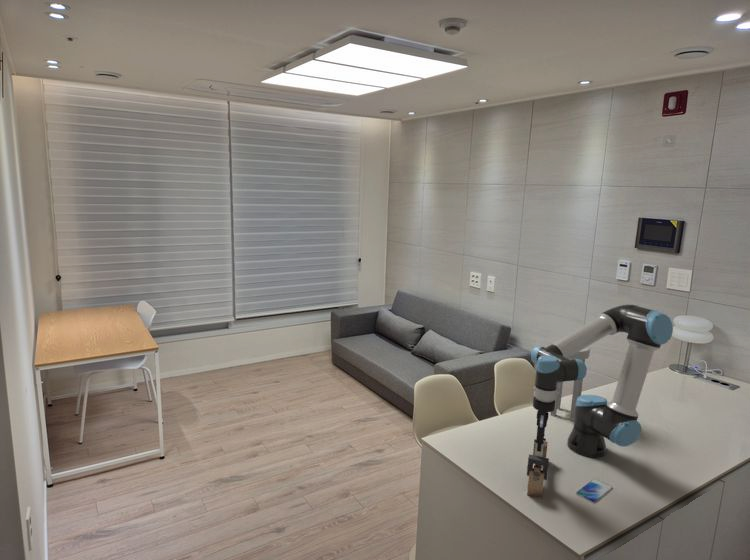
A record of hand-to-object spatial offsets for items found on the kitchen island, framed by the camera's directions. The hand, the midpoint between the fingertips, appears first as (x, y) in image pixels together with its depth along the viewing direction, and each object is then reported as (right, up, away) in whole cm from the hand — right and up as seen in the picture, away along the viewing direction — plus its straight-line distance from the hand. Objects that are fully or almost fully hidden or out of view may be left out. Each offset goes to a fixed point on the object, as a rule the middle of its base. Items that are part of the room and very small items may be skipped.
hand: (538, 457), depth 178 cm
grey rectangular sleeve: (-1, -6, -1) cm, 7 cm away
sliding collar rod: (+1, -9, +4) cm, 10 cm away
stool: (+33, 0, +58) cm, 67 cm away
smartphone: (+19, -12, -3) cm, 23 cm away
